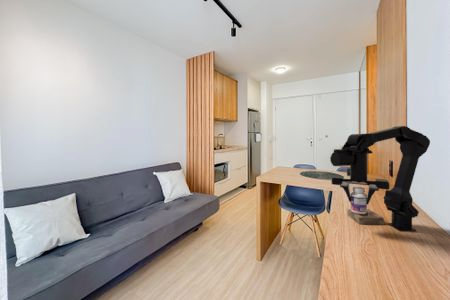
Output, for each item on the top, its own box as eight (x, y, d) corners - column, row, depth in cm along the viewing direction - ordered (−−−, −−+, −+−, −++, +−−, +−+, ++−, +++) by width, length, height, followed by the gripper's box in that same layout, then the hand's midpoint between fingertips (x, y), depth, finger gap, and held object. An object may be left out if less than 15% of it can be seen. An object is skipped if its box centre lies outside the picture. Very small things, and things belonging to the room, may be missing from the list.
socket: (383, 224, 84) (383, 217, 84) (359, 224, 85) (359, 217, 85) (368, 215, 94) (368, 209, 94) (347, 215, 95) (347, 209, 95)
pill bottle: (351, 208, 82) (351, 185, 81) (367, 210, 78) (367, 187, 78) (349, 212, 78) (349, 188, 77) (366, 215, 74) (366, 190, 74)
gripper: (386, 163, 78) (386, 200, 79) (334, 161, 89) (334, 194, 90) (389, 167, 69) (389, 209, 70) (331, 165, 80) (331, 201, 81)
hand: (358, 202), depth 78 cm, fingers closed on pill bottle, 5 cm apart
